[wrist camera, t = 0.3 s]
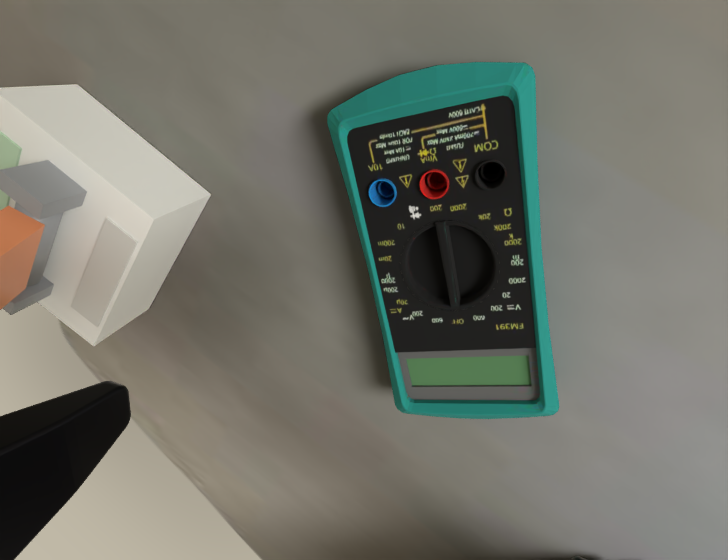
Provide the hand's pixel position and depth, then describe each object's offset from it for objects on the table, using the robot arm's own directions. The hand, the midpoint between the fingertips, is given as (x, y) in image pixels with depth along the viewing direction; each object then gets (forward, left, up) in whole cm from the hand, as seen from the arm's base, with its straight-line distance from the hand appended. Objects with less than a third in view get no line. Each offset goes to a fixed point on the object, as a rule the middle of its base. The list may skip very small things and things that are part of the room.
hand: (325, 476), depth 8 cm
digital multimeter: (-1, -1, -13) cm, 13 cm away
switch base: (+8, +15, -13) cm, 21 cm away
